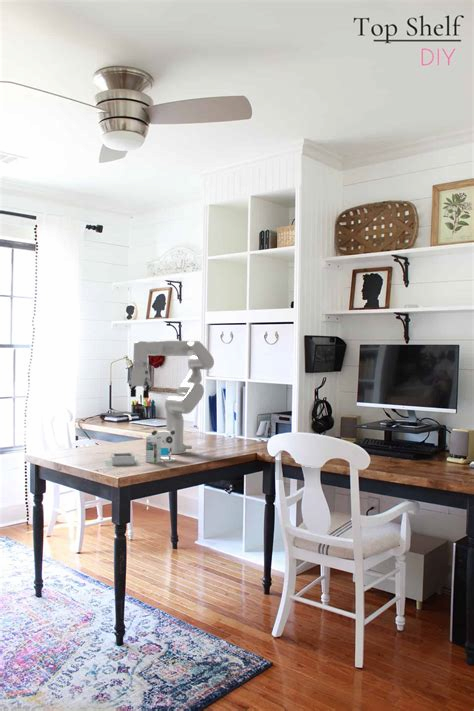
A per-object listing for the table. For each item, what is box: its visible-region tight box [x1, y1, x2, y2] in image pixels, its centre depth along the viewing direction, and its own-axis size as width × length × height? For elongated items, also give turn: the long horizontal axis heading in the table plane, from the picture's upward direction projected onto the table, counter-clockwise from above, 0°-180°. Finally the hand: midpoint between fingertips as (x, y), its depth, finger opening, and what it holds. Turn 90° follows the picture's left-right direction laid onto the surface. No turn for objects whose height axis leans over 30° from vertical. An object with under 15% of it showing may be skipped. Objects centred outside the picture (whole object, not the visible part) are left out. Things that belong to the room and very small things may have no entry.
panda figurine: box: [151, 429, 176, 462], centre depth 312 cm, size 12×11×15 cm
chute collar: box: [110, 452, 136, 465], centre depth 292 cm, size 10×10×4 cm
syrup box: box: [145, 434, 162, 464], centre depth 297 cm, size 6×6×14 cm
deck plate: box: [104, 459, 141, 467], centre depth 292 cm, size 16×14×2 cm
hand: (139, 397), depth 314 cm, fingers open, 9 cm apart
